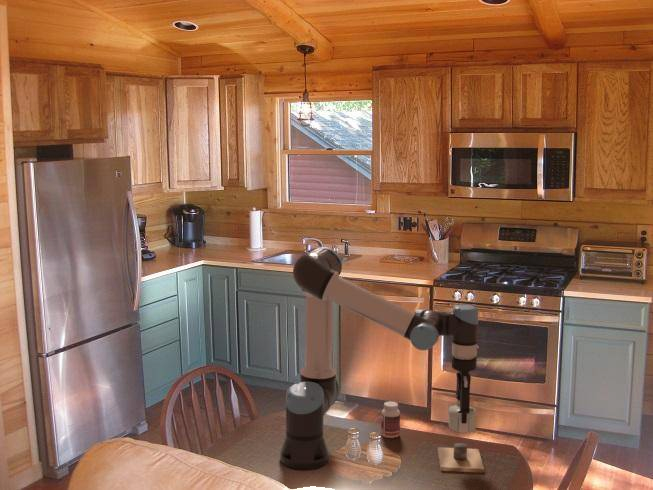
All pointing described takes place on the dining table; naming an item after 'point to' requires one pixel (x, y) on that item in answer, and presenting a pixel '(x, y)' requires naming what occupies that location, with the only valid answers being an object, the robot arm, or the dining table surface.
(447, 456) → the stud board
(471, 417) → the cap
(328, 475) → the dining table surface
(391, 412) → the pill bottle
